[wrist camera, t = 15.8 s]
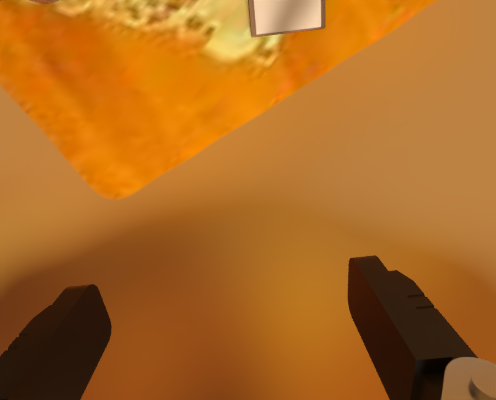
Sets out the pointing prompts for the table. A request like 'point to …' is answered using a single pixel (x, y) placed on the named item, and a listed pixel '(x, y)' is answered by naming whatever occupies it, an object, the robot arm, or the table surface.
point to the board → (285, 16)
